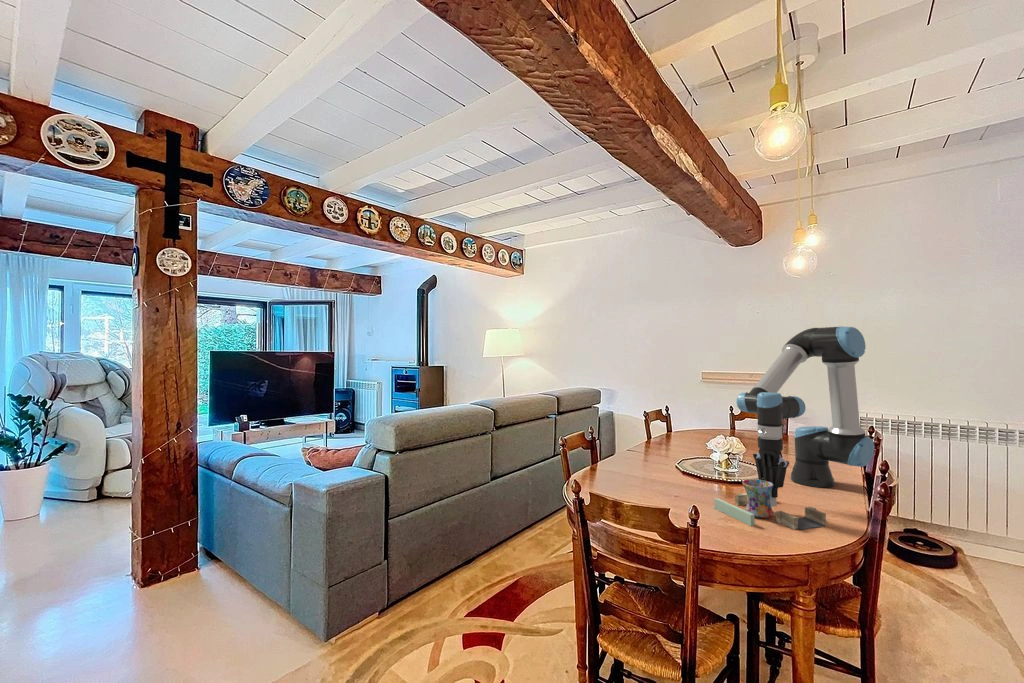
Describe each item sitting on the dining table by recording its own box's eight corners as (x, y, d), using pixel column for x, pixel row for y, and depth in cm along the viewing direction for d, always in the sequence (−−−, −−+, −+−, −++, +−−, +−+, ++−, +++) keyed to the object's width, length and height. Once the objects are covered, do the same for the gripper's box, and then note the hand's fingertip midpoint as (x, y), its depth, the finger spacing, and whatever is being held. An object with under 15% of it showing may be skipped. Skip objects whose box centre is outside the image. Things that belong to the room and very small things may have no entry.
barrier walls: (768, 499, 164) (768, 490, 164) (829, 523, 142) (829, 512, 142) (735, 504, 160) (735, 494, 160) (792, 529, 137) (792, 518, 137)
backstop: (718, 508, 156) (718, 498, 156) (754, 525, 141) (754, 514, 141) (714, 508, 156) (714, 498, 156) (750, 526, 140) (750, 515, 140)
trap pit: (805, 518, 146) (805, 517, 146) (825, 526, 140) (825, 525, 140) (781, 521, 144) (781, 520, 144) (800, 530, 137) (800, 529, 137)
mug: (773, 521, 143) (770, 488, 143) (741, 516, 149) (739, 484, 149) (778, 510, 152) (776, 479, 152) (748, 505, 158) (746, 475, 158)
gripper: (746, 434, 158) (747, 500, 158) (777, 442, 145) (779, 513, 145) (762, 433, 160) (764, 498, 160) (795, 440, 148) (796, 511, 147)
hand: (771, 505), depth 153 cm, fingers closed
